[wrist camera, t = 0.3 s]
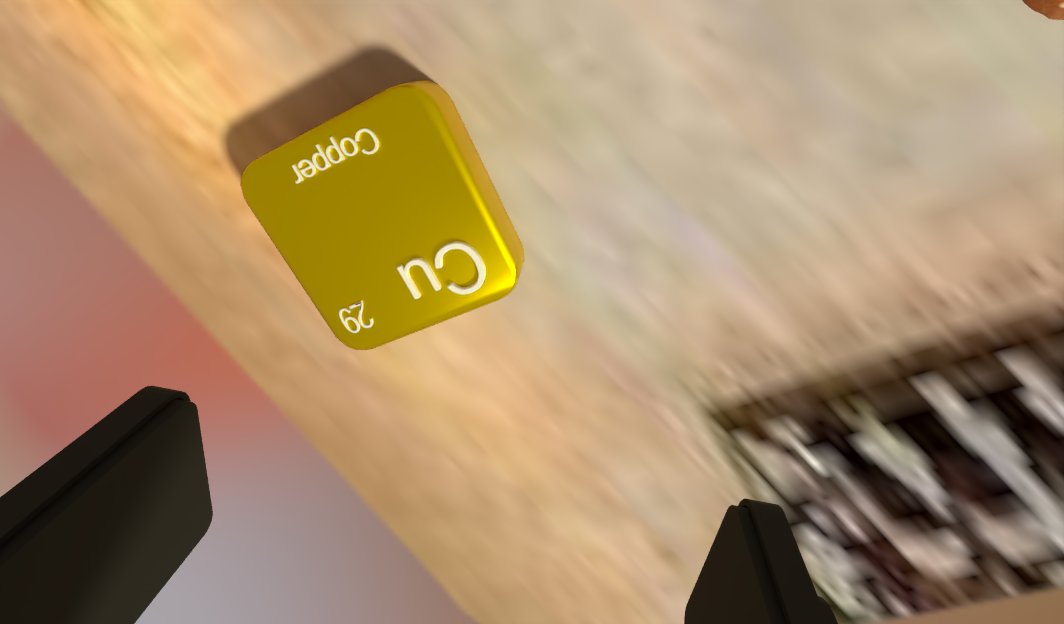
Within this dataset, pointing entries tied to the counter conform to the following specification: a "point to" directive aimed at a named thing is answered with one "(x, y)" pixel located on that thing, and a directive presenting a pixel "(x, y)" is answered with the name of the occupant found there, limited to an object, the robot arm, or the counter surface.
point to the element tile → (387, 216)
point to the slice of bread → (1047, 8)
